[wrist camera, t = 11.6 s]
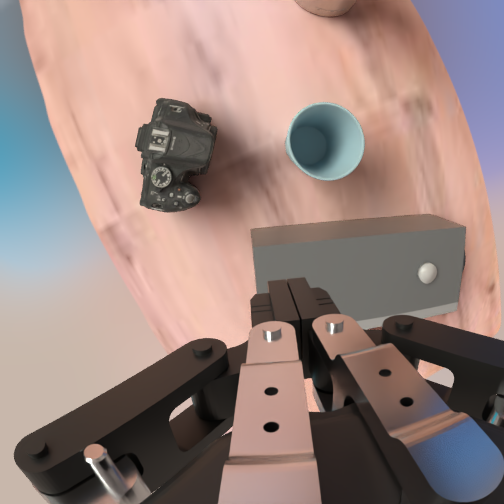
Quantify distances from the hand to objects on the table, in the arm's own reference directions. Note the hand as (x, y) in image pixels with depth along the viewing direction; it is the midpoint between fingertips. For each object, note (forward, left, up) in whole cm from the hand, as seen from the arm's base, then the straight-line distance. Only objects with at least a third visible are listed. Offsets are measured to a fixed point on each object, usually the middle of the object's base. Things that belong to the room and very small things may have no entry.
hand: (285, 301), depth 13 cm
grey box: (+8, +12, -29) cm, 32 cm away
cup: (-7, +7, -29) cm, 31 cm away
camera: (-7, -8, -29) cm, 31 cm away
